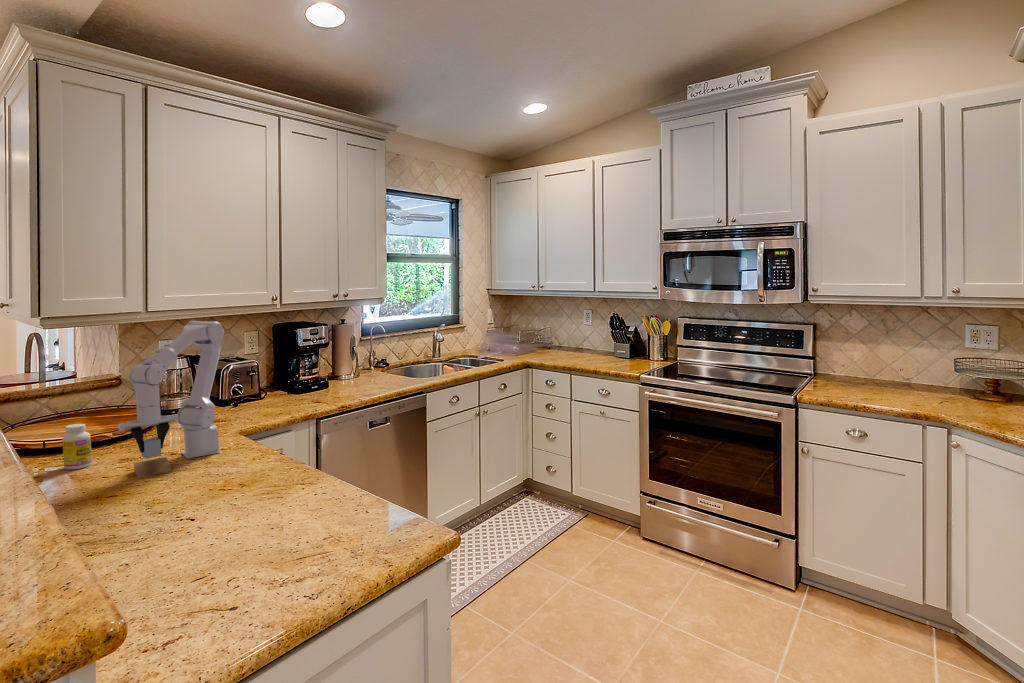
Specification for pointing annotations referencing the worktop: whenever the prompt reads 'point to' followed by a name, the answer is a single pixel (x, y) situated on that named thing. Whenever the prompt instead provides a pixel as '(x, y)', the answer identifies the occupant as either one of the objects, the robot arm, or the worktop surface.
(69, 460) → the supplement bottle
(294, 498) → the worktop surface
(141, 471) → the walnut block
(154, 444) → the gray block
